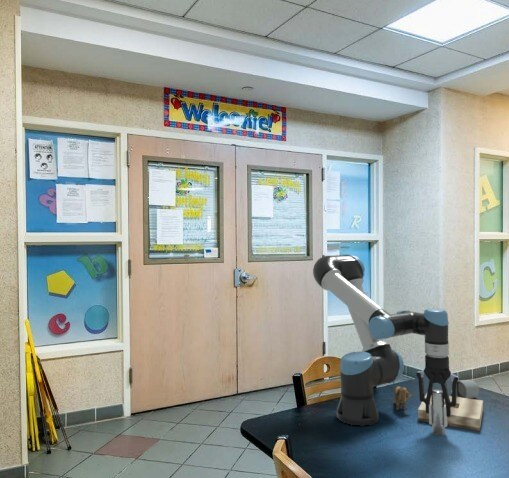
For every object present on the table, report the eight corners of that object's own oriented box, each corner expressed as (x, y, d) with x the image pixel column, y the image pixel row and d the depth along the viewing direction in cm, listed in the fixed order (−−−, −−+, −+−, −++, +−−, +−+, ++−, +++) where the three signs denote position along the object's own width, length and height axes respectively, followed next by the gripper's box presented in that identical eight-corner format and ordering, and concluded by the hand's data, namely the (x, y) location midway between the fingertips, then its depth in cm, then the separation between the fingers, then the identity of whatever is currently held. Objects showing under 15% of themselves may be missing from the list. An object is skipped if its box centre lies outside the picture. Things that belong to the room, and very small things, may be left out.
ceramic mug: (481, 399, 183) (480, 380, 183) (466, 402, 180) (466, 383, 180) (460, 392, 193) (459, 374, 193) (445, 395, 189) (445, 376, 189)
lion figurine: (412, 413, 170) (412, 389, 170) (398, 413, 170) (398, 389, 170) (401, 399, 185) (400, 377, 185) (388, 399, 185) (387, 377, 185)
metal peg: (431, 434, 152) (430, 392, 152) (433, 429, 155) (432, 389, 155) (444, 436, 150) (443, 394, 150) (445, 432, 153) (444, 390, 153)
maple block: (418, 420, 163) (417, 409, 163) (427, 402, 181) (427, 392, 181) (479, 431, 153) (479, 419, 153) (483, 411, 171) (482, 400, 171)
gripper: (408, 354, 154) (410, 423, 153) (463, 360, 145) (465, 433, 145) (412, 350, 160) (414, 416, 160) (465, 355, 152) (467, 424, 151)
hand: (438, 424), depth 152 cm, fingers closed on metal peg, 4 cm apart
